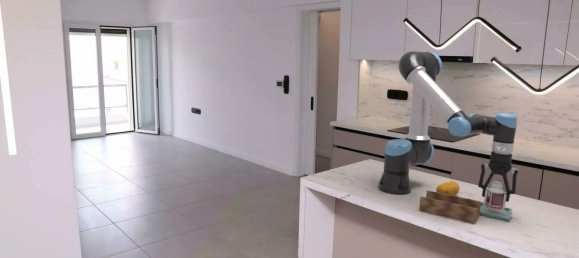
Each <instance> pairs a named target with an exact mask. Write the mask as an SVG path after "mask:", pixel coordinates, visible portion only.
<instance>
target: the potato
mask: <svg viewBox="0 0 579 258" xmlns="http://www.w3.org/2000/svg"><path fill="white" fill-rule="evenodd" d="M459 191H460V185H459V184H458V182H457V181H454V180H450V181H446V182H442V183H440V184H438V185H437V187H436V190H435V192H438V193H443V194H448V195H452V196H457V195H458V194H459Z"/></svg>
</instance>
